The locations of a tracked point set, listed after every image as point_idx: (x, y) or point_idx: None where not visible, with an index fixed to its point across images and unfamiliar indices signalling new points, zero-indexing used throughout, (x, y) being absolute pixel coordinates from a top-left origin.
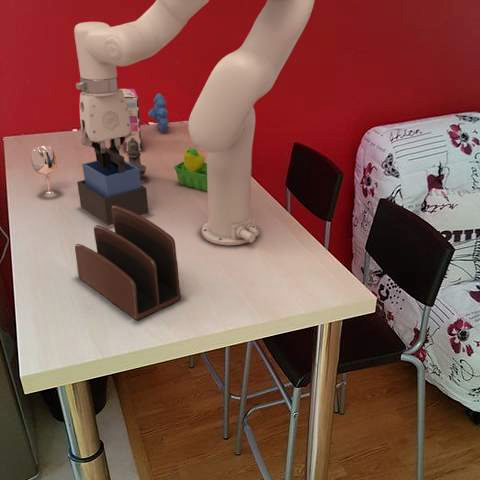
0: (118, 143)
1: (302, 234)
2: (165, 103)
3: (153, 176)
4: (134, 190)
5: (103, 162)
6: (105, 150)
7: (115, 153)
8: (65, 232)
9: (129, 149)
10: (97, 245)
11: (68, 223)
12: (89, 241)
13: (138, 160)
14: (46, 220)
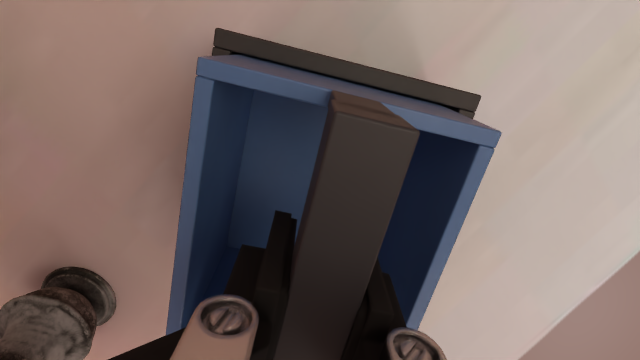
0: (207, 354)
1: None
2: None
3: (4, 280)
4: (292, 54)
5: (387, 284)
6: (392, 347)
7: (316, 260)
8: (531, 174)
9: None
10: None
11: (472, 217)
12: (551, 52)
13: (3, 346)
14: (490, 281)
